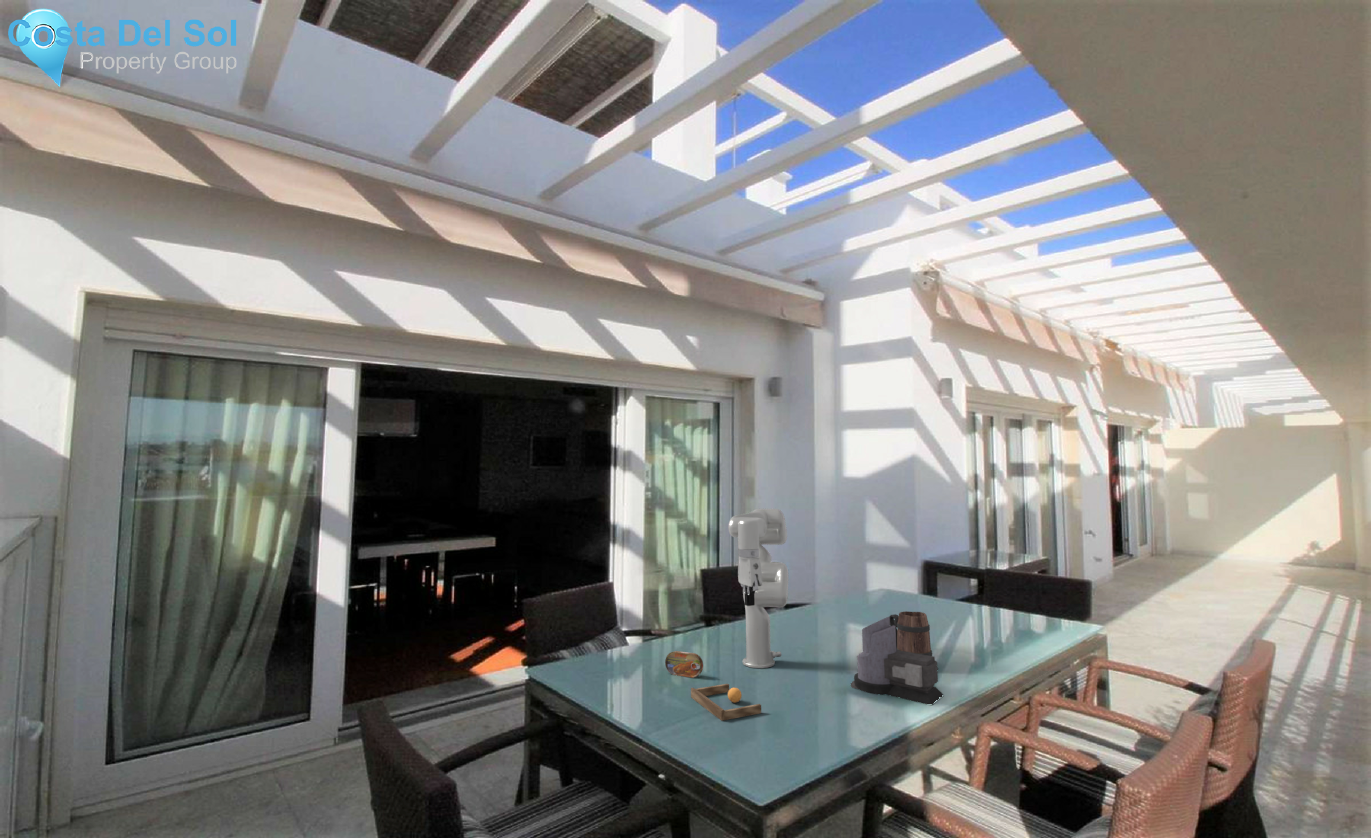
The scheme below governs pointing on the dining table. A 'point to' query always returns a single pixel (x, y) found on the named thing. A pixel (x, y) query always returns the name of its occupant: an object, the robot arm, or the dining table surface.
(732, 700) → the ball
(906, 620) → the tankard
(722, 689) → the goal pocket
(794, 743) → the dining table surface
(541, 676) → the dining table surface
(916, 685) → the juicer
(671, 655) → the tin
